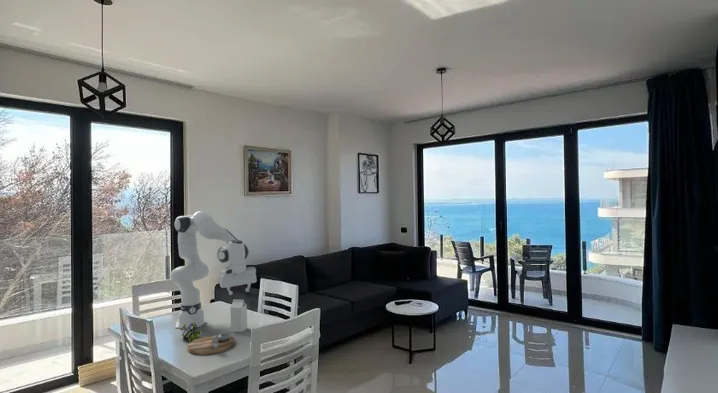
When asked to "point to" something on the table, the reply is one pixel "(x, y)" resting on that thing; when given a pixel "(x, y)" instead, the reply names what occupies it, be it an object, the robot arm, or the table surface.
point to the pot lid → (223, 337)
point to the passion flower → (190, 329)
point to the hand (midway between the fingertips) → (239, 293)
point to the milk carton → (238, 316)
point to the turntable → (209, 345)
